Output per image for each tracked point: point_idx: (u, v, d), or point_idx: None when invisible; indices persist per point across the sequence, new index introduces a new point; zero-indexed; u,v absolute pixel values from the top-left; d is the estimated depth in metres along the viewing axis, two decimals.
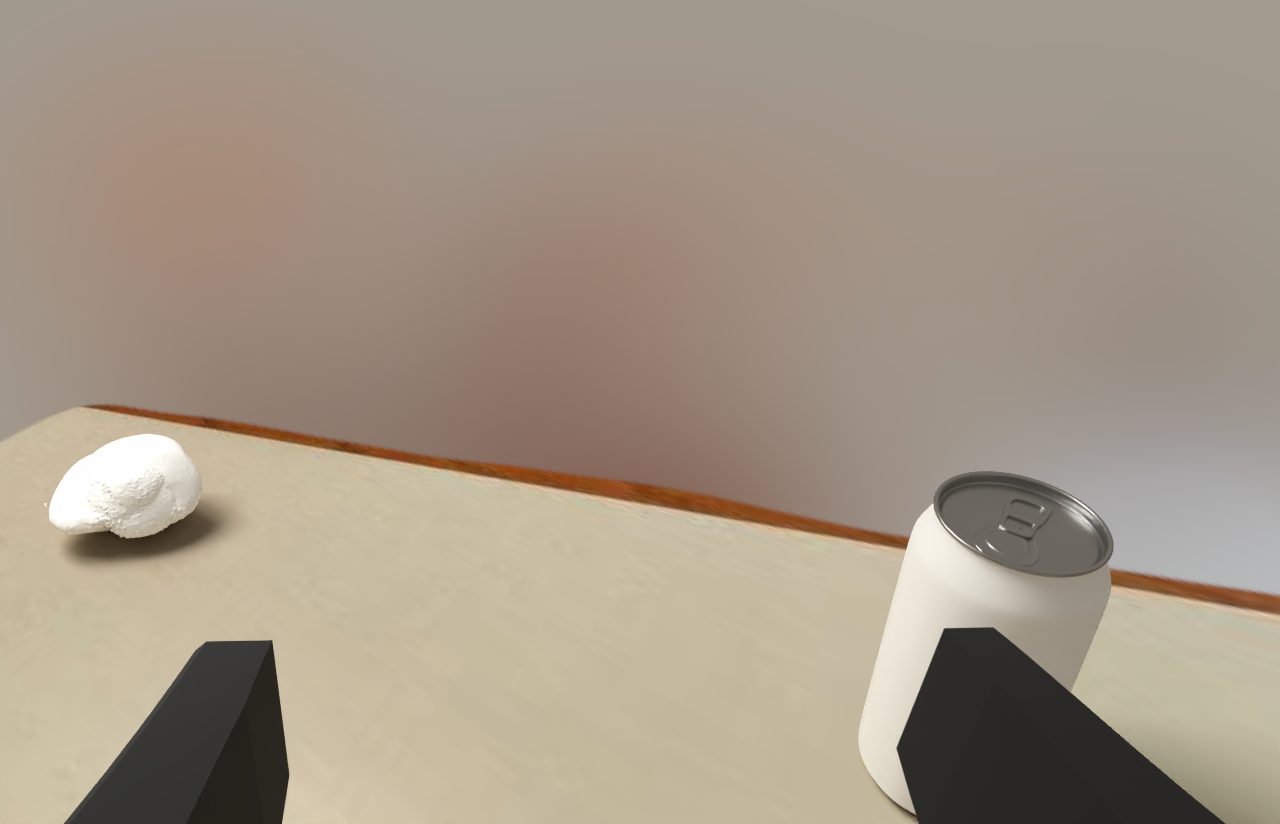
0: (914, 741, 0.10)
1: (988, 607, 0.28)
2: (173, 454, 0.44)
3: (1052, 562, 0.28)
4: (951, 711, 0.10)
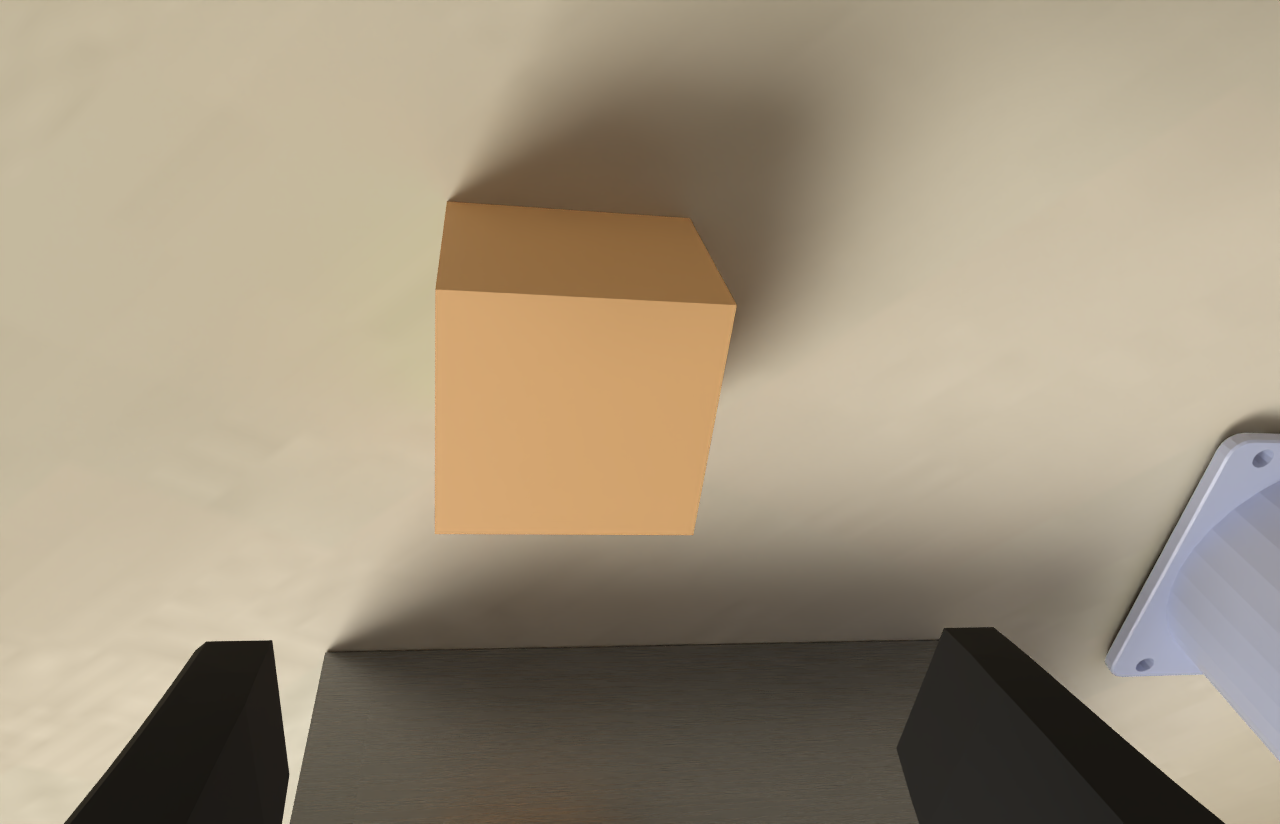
0: (914, 741, 0.10)
1: None
2: None
3: None
4: (951, 711, 0.10)
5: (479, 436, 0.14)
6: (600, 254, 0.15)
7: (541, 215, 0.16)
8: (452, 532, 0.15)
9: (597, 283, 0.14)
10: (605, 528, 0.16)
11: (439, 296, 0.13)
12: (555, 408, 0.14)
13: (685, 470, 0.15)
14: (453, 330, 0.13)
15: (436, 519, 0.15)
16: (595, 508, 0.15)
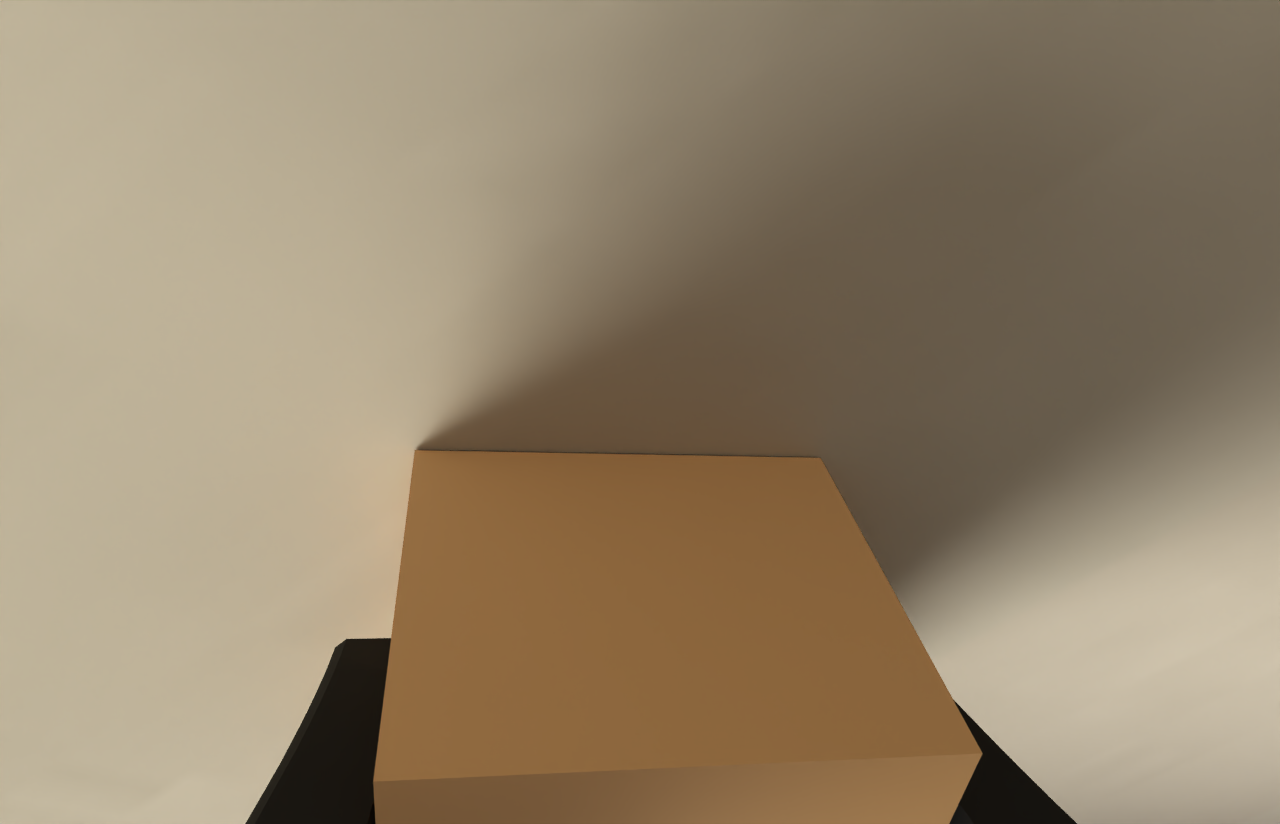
0: None
1: None
2: None
3: None
4: None
5: None
6: (693, 597, 0.08)
7: (578, 481, 0.09)
8: None
9: (702, 708, 0.07)
10: None
11: (382, 788, 0.06)
12: None
13: None
14: None
15: None
16: None
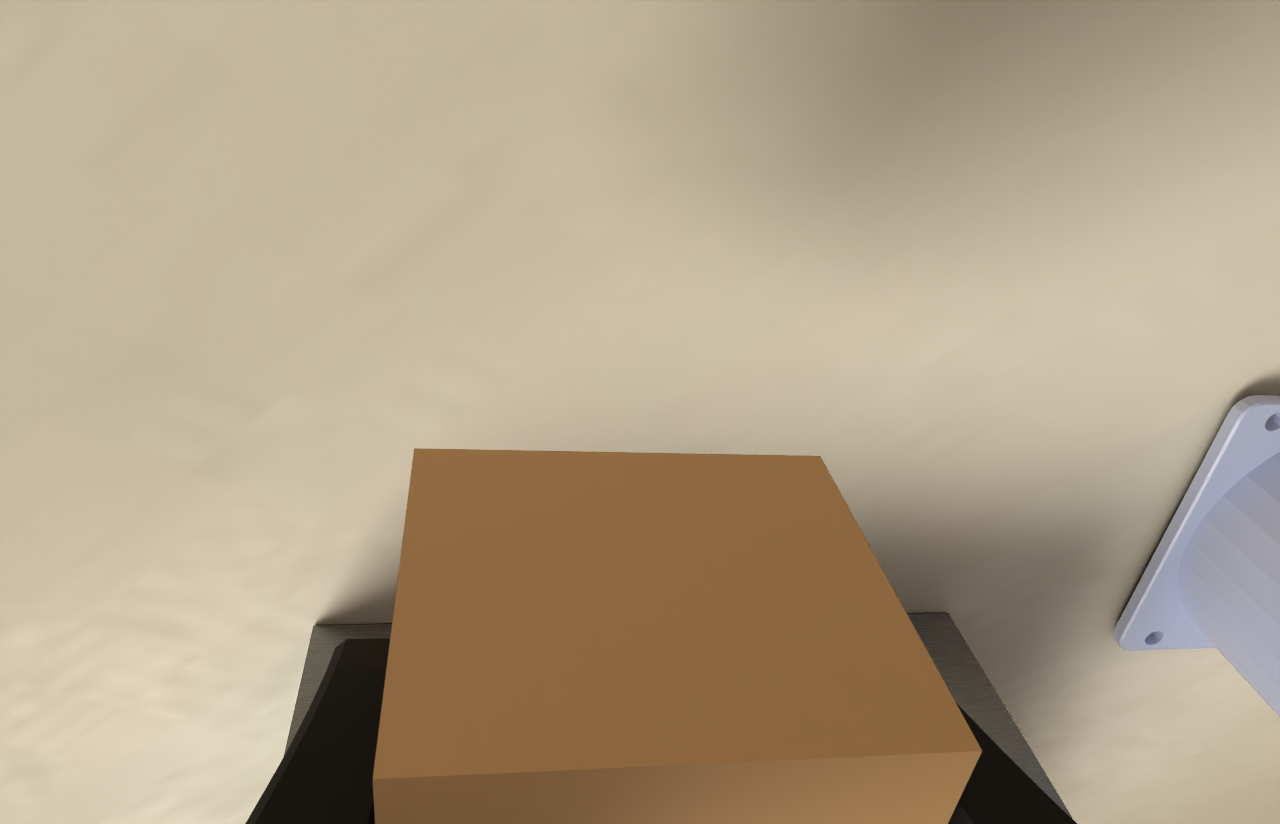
0: None
1: None
2: None
3: None
4: None
5: None
6: (693, 595, 0.08)
7: (577, 479, 0.09)
8: None
9: (700, 706, 0.07)
10: None
11: (382, 786, 0.06)
12: None
13: None
14: None
15: None
16: None
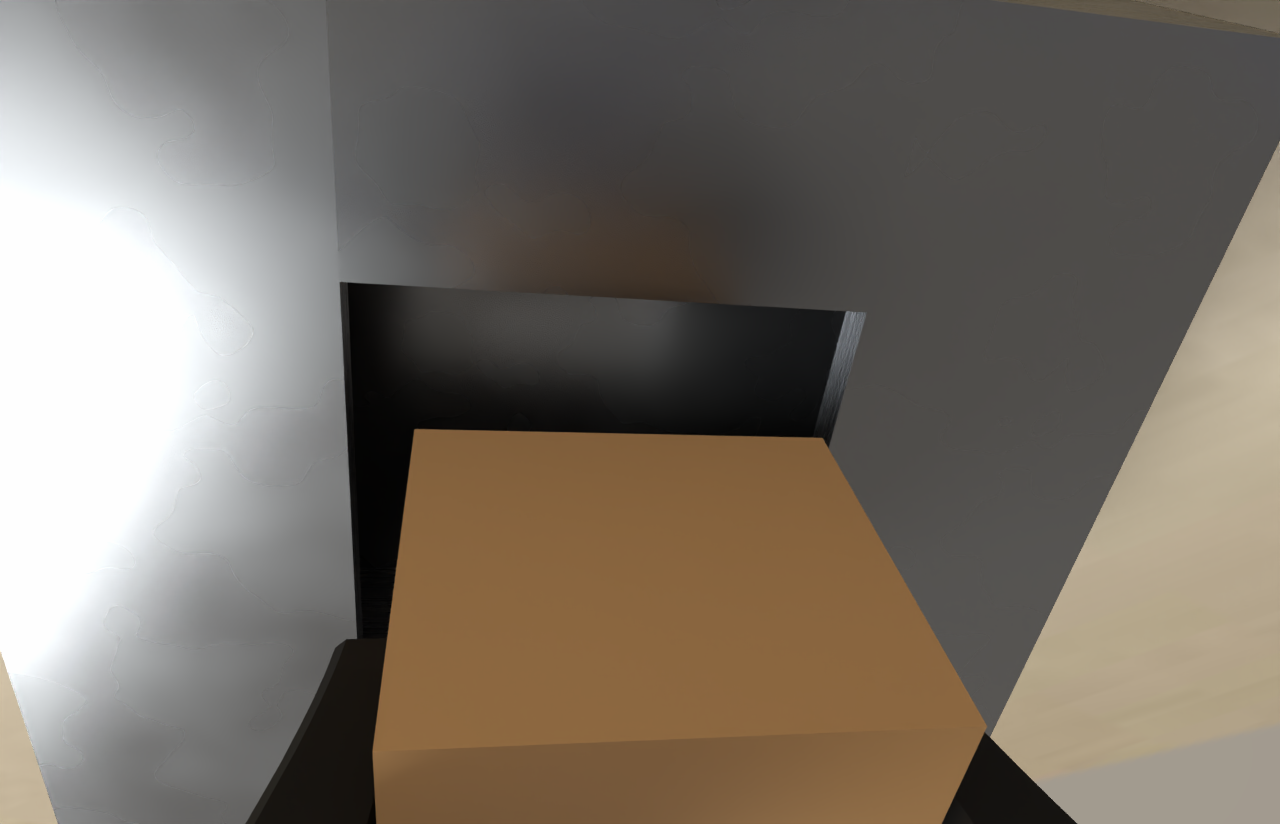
0: None
1: None
2: None
3: None
4: None
5: None
6: (696, 572, 0.08)
7: (578, 459, 0.09)
8: None
9: (704, 681, 0.07)
10: None
11: (382, 759, 0.06)
12: None
13: None
14: (416, 810, 0.06)
15: None
16: None
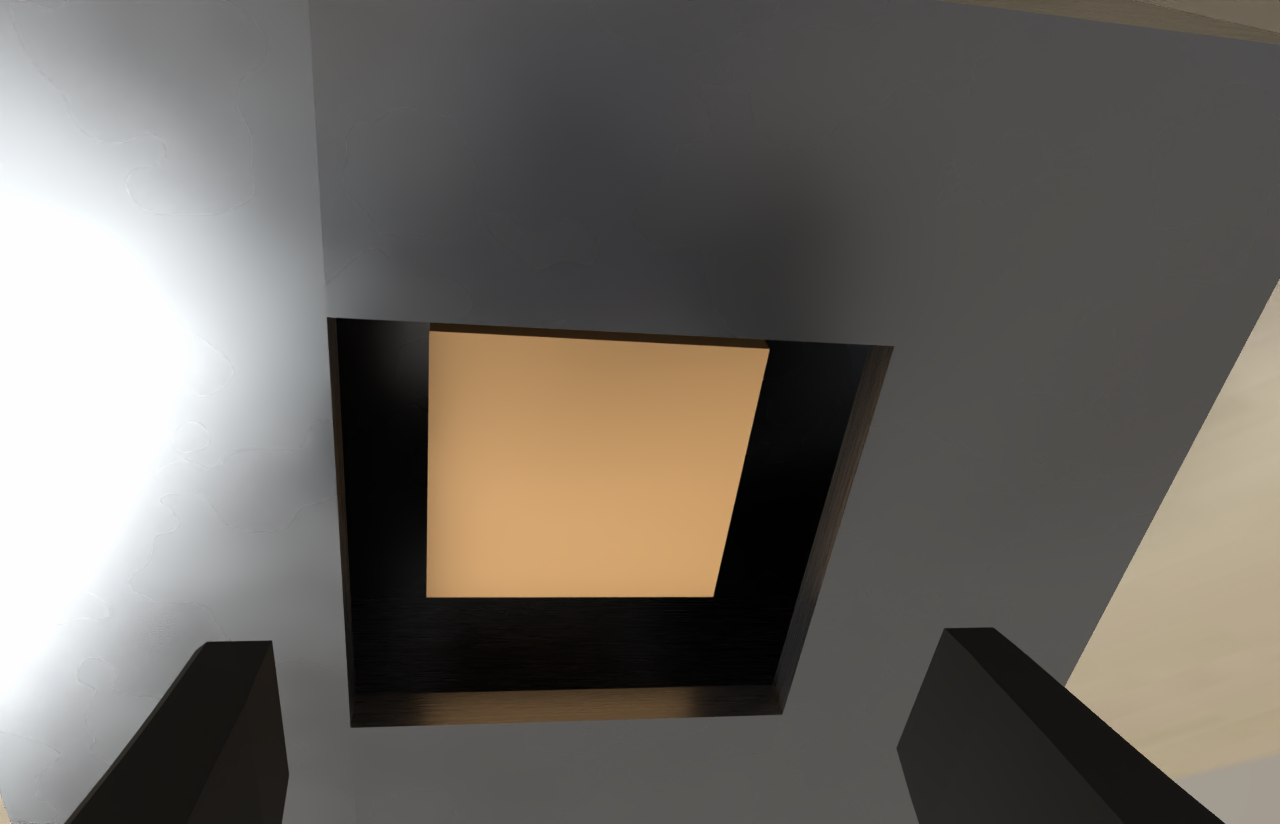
0: (914, 741, 0.10)
1: None
2: None
3: None
4: (951, 711, 0.10)
5: (477, 492, 0.13)
6: None
7: None
8: (445, 595, 0.14)
9: None
10: (616, 590, 0.14)
11: (433, 338, 0.11)
12: (563, 461, 0.13)
13: (706, 528, 0.14)
14: (450, 376, 0.12)
15: (428, 581, 0.13)
16: (605, 569, 0.14)
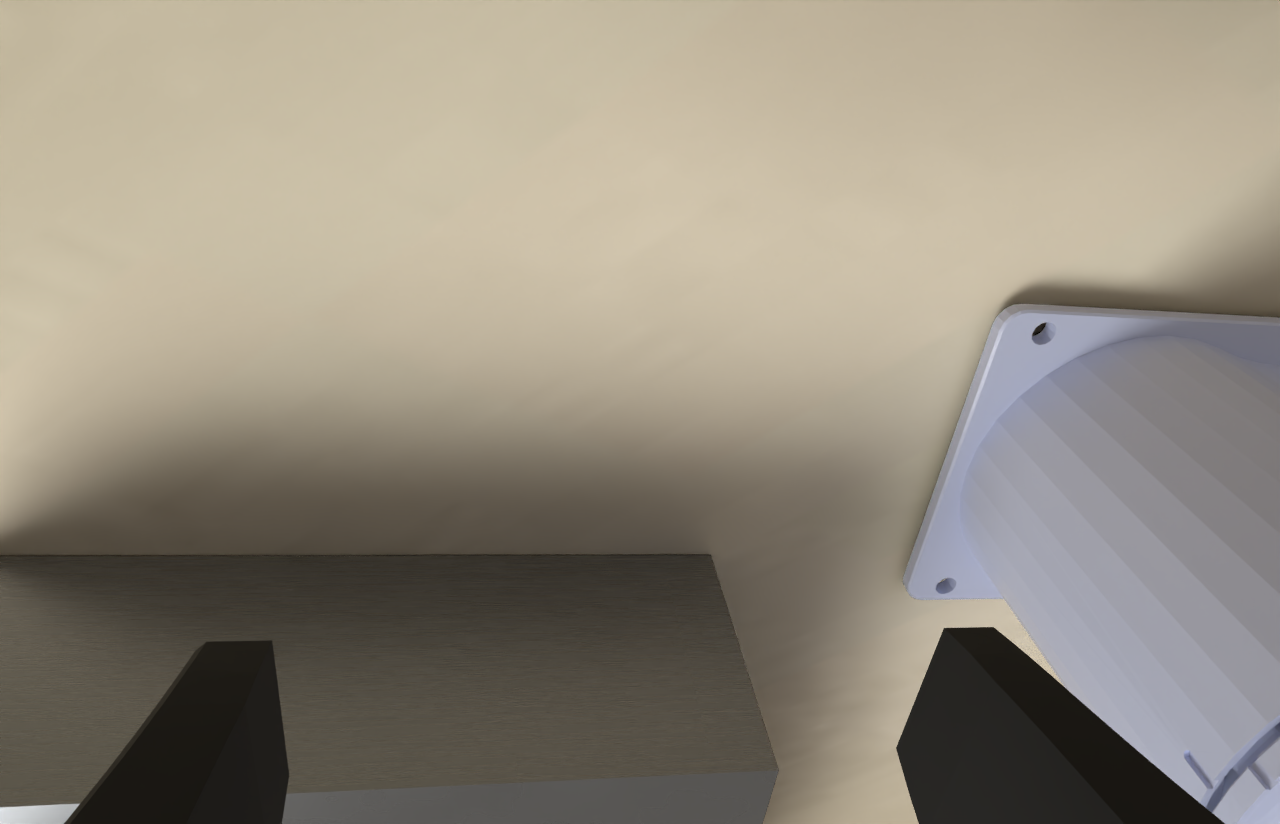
0: (914, 741, 0.10)
1: None
2: None
3: None
4: (951, 711, 0.10)
5: None
6: None
7: None
8: None
9: None
10: None
11: None
12: None
13: None
14: None
15: None
16: None
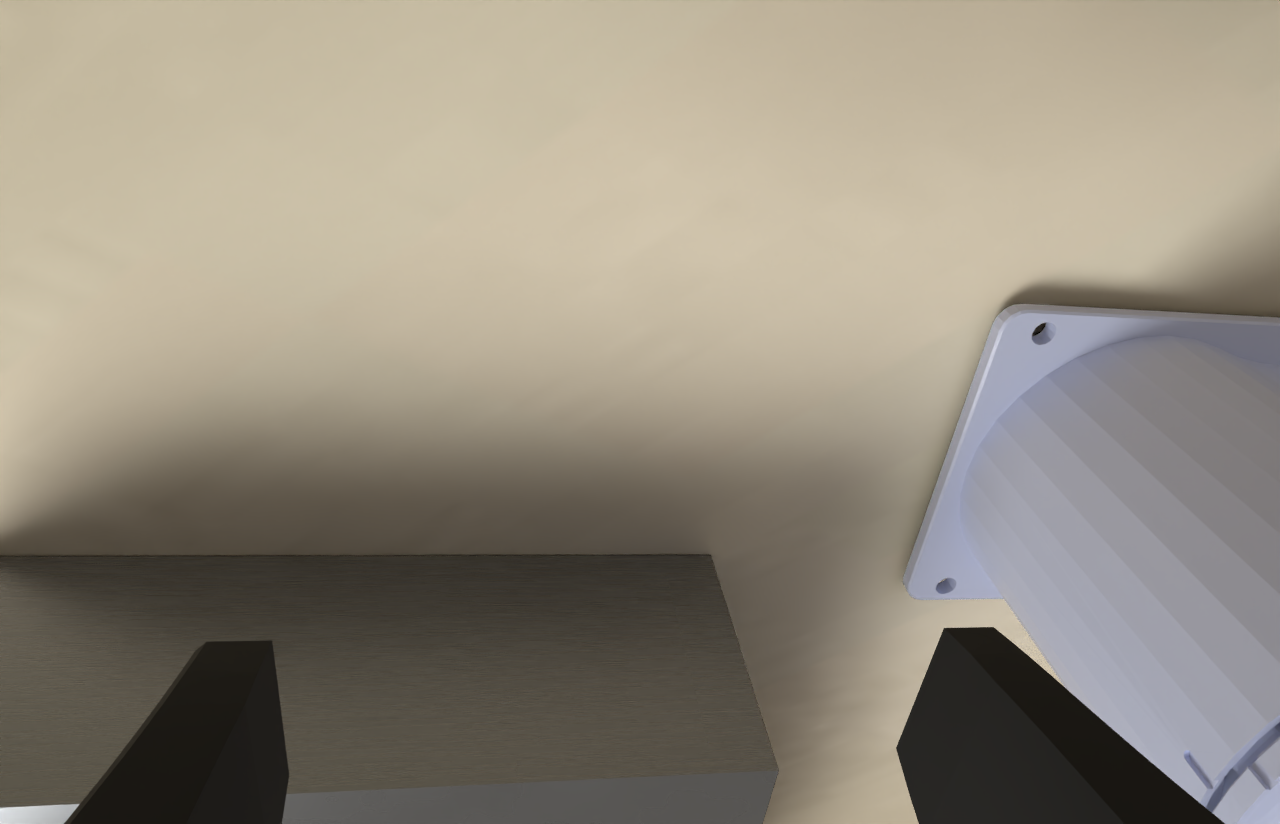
0: (914, 741, 0.10)
1: None
2: None
3: None
4: (951, 711, 0.10)
5: None
6: None
7: None
8: None
9: None
10: None
11: None
12: None
13: None
14: None
15: None
16: None
